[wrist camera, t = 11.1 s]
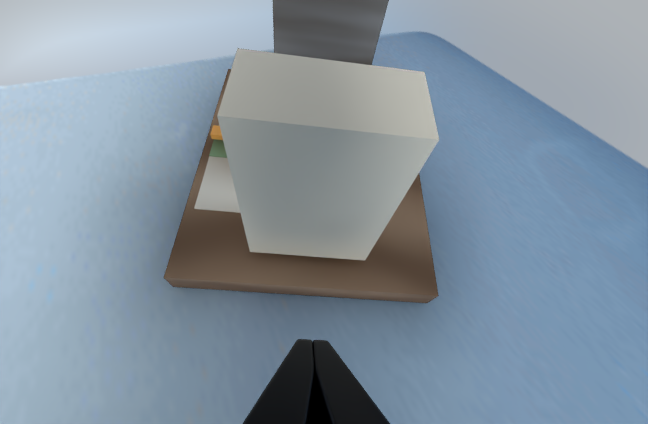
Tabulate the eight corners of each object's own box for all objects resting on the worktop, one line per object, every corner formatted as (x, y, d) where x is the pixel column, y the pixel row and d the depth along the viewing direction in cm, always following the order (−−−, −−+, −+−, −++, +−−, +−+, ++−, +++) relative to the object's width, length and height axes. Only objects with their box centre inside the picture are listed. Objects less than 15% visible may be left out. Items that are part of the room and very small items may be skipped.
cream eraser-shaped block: (365, 260, 16) (439, 139, 8) (249, 251, 16) (217, 115, 8) (361, 158, 20) (410, 8, 12) (267, 149, 19) (256, -14, 12)
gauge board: (427, 303, 17) (552, 224, 9) (173, 286, 16) (63, 181, 8) (399, 105, 26) (453, -27, 18) (231, 85, 25) (205, -65, 17)
